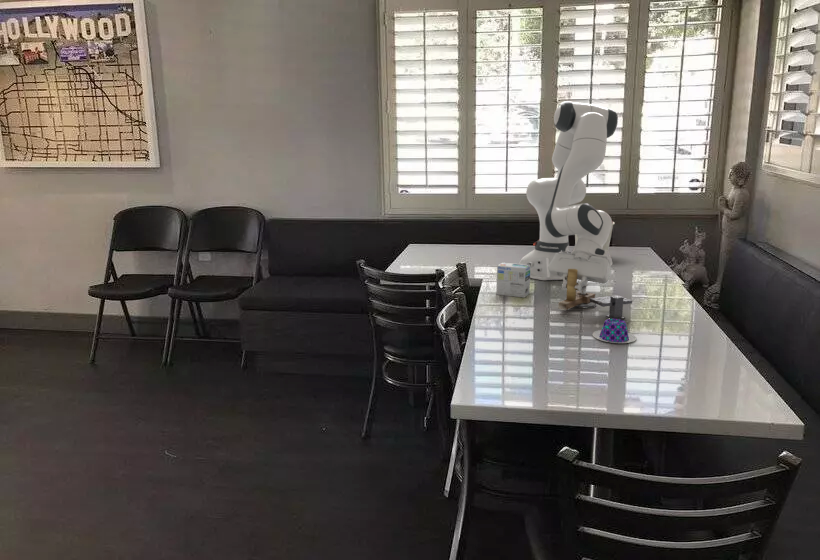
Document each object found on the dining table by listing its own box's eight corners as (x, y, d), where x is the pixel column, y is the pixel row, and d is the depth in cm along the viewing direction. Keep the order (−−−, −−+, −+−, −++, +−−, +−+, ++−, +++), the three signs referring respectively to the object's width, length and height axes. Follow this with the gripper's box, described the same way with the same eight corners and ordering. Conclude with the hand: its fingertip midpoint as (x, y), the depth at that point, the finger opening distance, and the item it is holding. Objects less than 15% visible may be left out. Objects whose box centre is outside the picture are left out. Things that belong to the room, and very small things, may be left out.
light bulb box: (530, 293, 236) (531, 264, 233) (524, 298, 230) (526, 268, 227) (501, 290, 240) (502, 261, 238) (495, 294, 234) (496, 265, 232)
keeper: (588, 314, 210) (590, 293, 208) (617, 311, 214) (618, 290, 212) (604, 322, 202) (606, 300, 201) (633, 318, 206) (635, 296, 204)
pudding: (583, 335, 190) (584, 318, 189) (614, 330, 196) (615, 313, 194) (613, 348, 180) (615, 329, 179) (645, 341, 185) (647, 323, 184)
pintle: (564, 305, 221) (565, 284, 219) (574, 299, 228) (575, 279, 226) (590, 309, 216) (592, 288, 214) (599, 303, 223) (601, 283, 221)
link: (578, 296, 226) (580, 262, 223) (594, 299, 222) (597, 265, 219) (553, 307, 212) (555, 271, 209) (570, 311, 208) (573, 274, 206)
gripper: (554, 244, 222) (538, 278, 217) (612, 252, 210) (597, 288, 205) (559, 255, 227) (544, 288, 222) (617, 264, 214) (602, 299, 209)
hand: (570, 288), depth 213 cm, fingers closed on link, 3 cm apart
